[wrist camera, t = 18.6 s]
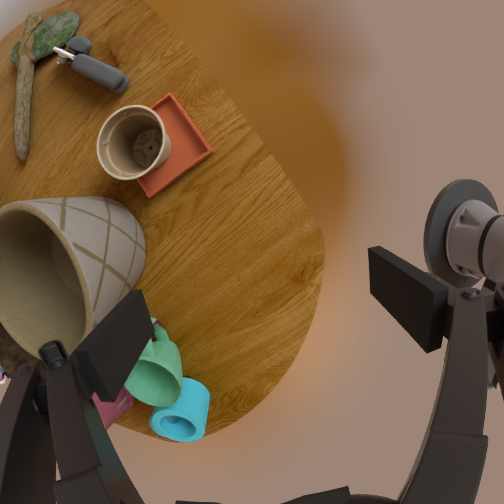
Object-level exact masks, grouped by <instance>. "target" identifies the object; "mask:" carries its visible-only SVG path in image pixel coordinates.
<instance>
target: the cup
mask: <svg viewBox="0 0 504 504" xmlns="http://www.w3.org/2000/svg"><path fill="white" fill-rule="evenodd" d="M209 402H210V394H209V391H208V390H207V388H206V387H205V386H204V385H202V384H201V383H200V382H198V381H196V380H193V379H190V378H186V377H182V393H181V396H180V398H179V395H178V399H177V400H176V402H175V403H174V404H172V405H169V406H165V407H163V406H154V409H153V411H152V414H151V417H150V420H149V424H150V426H151V428H152V430H153V431H154V432H155V433H157V434H158V435H160V436H163V437H167V438H169V439H172V440H175V441H179V442H194V441H197V440H199V439H201V438H202V437H203V435H204V433H205V427H206V420H207V414H208V408H209Z"/></svg>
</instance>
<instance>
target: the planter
mask: <svg viewBox="0 0 504 504" xmlns="http://www.w3.org/2000/svg"><path fill="white" fill-rule="evenodd" d="M145 259H146V240H145V235H144V231H143V229H142V227H141V225H140V224H139V223H138V222H137V220H136V219H135V217H134V216H133V215H132V214H131V212H130V211H129V210H128V209H127V208H126V207H125V206H123V205H122V204H121V203H119V202H117V201H116V200H113V199H111V198H108V197H103V196H86V197H64V198H46V199H34V200H24V201H16V202H12V203H8V204H6V205H4V206H3V207H1V208H0V322H1V323H2V325H3V326H4V328H5V329H6V331H7V332H8V333H9V334H10V336H11V337H12V338H13V339H14V340H15V341H16V342H17V343H18V344H19V345H20V346H21V347H22V348H23V349H25V350H26V351H27V352H29V353H30V354H32V355H33V356H35V357H37V358H39V359H41V358H40V356H39V354H38V352H37V351H38V349H39V348H40V347H41V346H42V345H43V344H45V343H47V342H49V341H52V340H61V342H62V344H63V346H64V348H65V350H66V352H67V354H68V356H69V355H70V354H71V353H72V352H73V351H74V350H75V349H76V347H77V346H78V345H79V344H80V343H81V342H82V341H83V340H84V339H85V338H86V337H87V335H88V334H89V333H90V332H91V331H92V330H93V329H94V328H95V327H96V326H97V325H98V324H99V323H100V322H101V321H102V319H103V318H104V317H105V316H106V315H107V314H108V313H109V312H110V311H111V310H112V309H113V308H114V307H115V306H116V305H117V304H118V303H119V302H120V301H121V300H122V299H123V298H124V297H125V296H126V295H127V294H128V293H129V292H130V291H131V290H132V289H133V288H134V286H135V285H136V284H137V282H138V281H139V279H140V277H141V275H142V272H143V269H144V265H145Z"/></svg>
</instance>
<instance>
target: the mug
mask: <svg viewBox="0 0 504 504" xmlns="http://www.w3.org/2000/svg"><path fill="white" fill-rule="evenodd" d="M151 320H152V323H153V326H154V328H155V332H154V334H155V337H156V339H157V341H155V342H152V337H151V338H150V340H149V342H148V344H147V345H146V347H145V349H144V350H143V352H142V354H141V356H140V357H139V359H138V361H137V363H136V364H135V366H134V368H133V370H132V372H131V373H130V375H129V377H128V379H127V381H126V382H125V384H124V386H125V388H126V389H127V390H128V391H129V392H130V394H132V395H133V396H134V397H135V398H137V399H138V400H140V401H142V402H144V403H146V404H149V405H153V406H163V407H165V406H169V405H172V404H174V403H175V402H176V400H177V399H178V395H179V398H180V396H181V393H182V376H183V374H182V363H181V357H180V354H179V350H178V347H177V346H176V344H174V343H173V342H172V341H170V340H169V338H168V335H167V332H166V329H165V327H164V326H163V325H162V324H161V323H160V322H159V321H158V320H157V319H155V318H152V317H151Z"/></svg>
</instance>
